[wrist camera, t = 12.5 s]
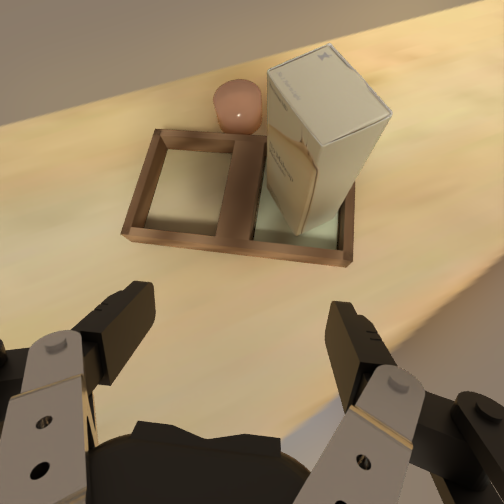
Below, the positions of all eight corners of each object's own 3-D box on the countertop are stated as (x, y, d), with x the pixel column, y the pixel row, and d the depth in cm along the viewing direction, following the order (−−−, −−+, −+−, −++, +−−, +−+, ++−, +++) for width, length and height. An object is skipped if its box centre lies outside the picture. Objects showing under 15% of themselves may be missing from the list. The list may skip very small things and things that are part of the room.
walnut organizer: (131, 241, 25) (120, 233, 24) (162, 142, 29) (155, 128, 27) (346, 267, 23) (352, 261, 21) (350, 155, 27) (356, 141, 25)
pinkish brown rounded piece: (215, 136, 29) (208, 114, 26) (223, 102, 31) (218, 78, 28) (258, 139, 28) (257, 117, 26) (264, 104, 30) (264, 80, 27)
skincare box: (265, 188, 26) (260, 68, 14) (304, 169, 26) (329, 38, 15) (296, 239, 24) (319, 148, 12) (338, 219, 24) (397, 111, 13)
